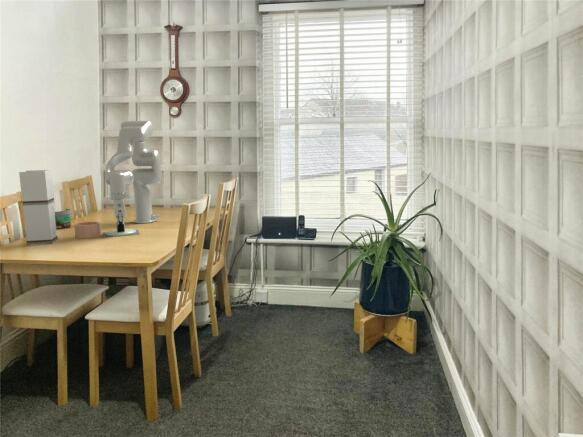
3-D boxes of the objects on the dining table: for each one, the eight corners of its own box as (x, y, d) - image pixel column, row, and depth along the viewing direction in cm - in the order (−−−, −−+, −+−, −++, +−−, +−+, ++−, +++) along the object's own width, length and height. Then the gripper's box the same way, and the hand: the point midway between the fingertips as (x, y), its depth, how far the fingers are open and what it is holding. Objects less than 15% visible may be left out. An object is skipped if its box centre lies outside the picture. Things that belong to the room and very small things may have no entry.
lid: (135, 229, 284) (134, 218, 283) (137, 234, 270) (136, 223, 269) (105, 232, 279) (104, 221, 278) (106, 237, 265) (105, 225, 264)
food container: (64, 229, 293) (62, 212, 291) (54, 229, 294) (52, 211, 293) (77, 225, 305) (76, 208, 303) (68, 225, 306) (66, 208, 304)
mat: (137, 230, 285) (137, 229, 285) (140, 235, 270) (140, 234, 270) (102, 233, 279) (102, 232, 279) (103, 238, 264) (103, 237, 264)
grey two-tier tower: (57, 239, 266) (51, 169, 260) (52, 243, 255) (44, 171, 250) (33, 240, 264) (26, 170, 258) (26, 245, 253) (19, 172, 248)
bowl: (100, 233, 278) (99, 220, 277) (101, 237, 267) (99, 224, 266) (76, 235, 274) (74, 222, 273) (75, 240, 263) (74, 226, 262)
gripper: (126, 197, 265) (129, 233, 268) (124, 194, 281) (127, 227, 284) (111, 198, 262) (113, 234, 265) (110, 195, 278) (112, 228, 281)
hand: (120, 230), depth 274 cm, fingers open, 5 cm apart
